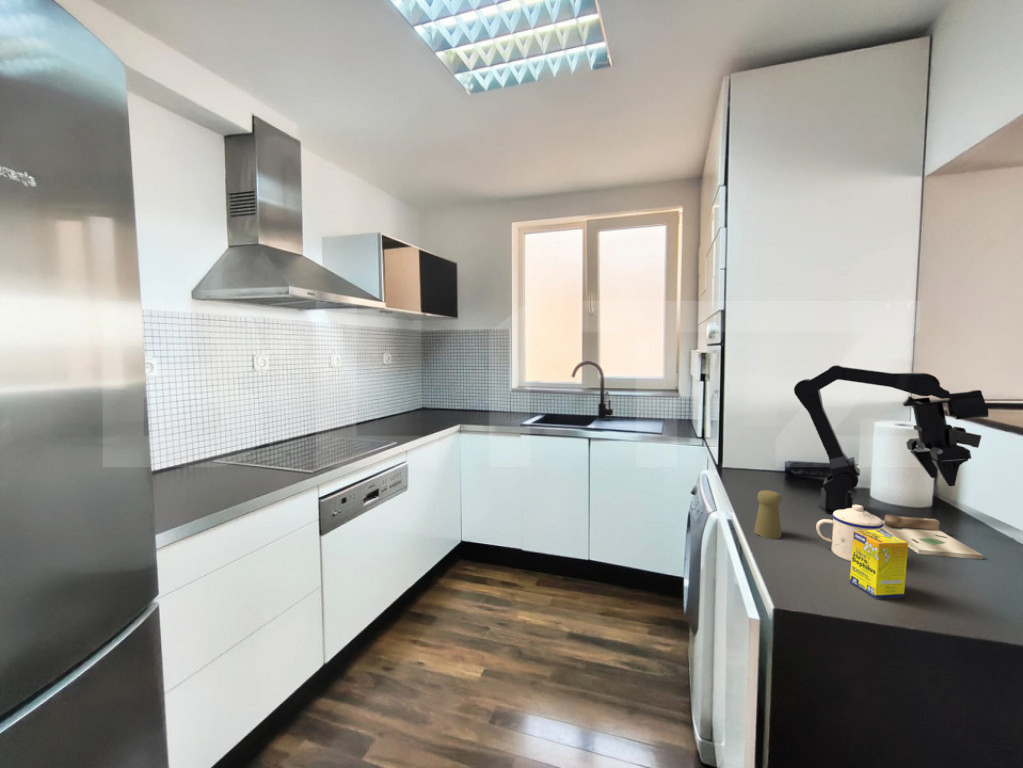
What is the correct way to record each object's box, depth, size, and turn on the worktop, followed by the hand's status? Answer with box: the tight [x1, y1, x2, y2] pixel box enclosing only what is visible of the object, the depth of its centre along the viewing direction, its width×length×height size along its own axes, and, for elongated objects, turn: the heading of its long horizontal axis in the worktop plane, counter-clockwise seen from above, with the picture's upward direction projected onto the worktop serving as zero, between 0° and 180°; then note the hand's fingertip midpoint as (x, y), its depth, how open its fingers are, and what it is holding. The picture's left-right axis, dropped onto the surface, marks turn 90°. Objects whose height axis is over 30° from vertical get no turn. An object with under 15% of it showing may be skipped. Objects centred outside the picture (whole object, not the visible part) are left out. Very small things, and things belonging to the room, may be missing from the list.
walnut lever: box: [884, 514, 940, 530], centre depth 113 cm, size 11×3×2 cm, turn 76°
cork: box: [753, 489, 782, 540], centre depth 112 cm, size 6×6×11 cm
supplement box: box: [849, 530, 909, 600], centre depth 86 cm, size 6×6×11 cm
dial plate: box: [882, 520, 984, 560], centre depth 108 cm, size 12×18×1 cm, turn 166°
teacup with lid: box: [815, 504, 883, 562], centre depth 101 cm, size 12×9×12 cm
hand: (942, 481), depth 113 cm, fingers open, 9 cm apart
